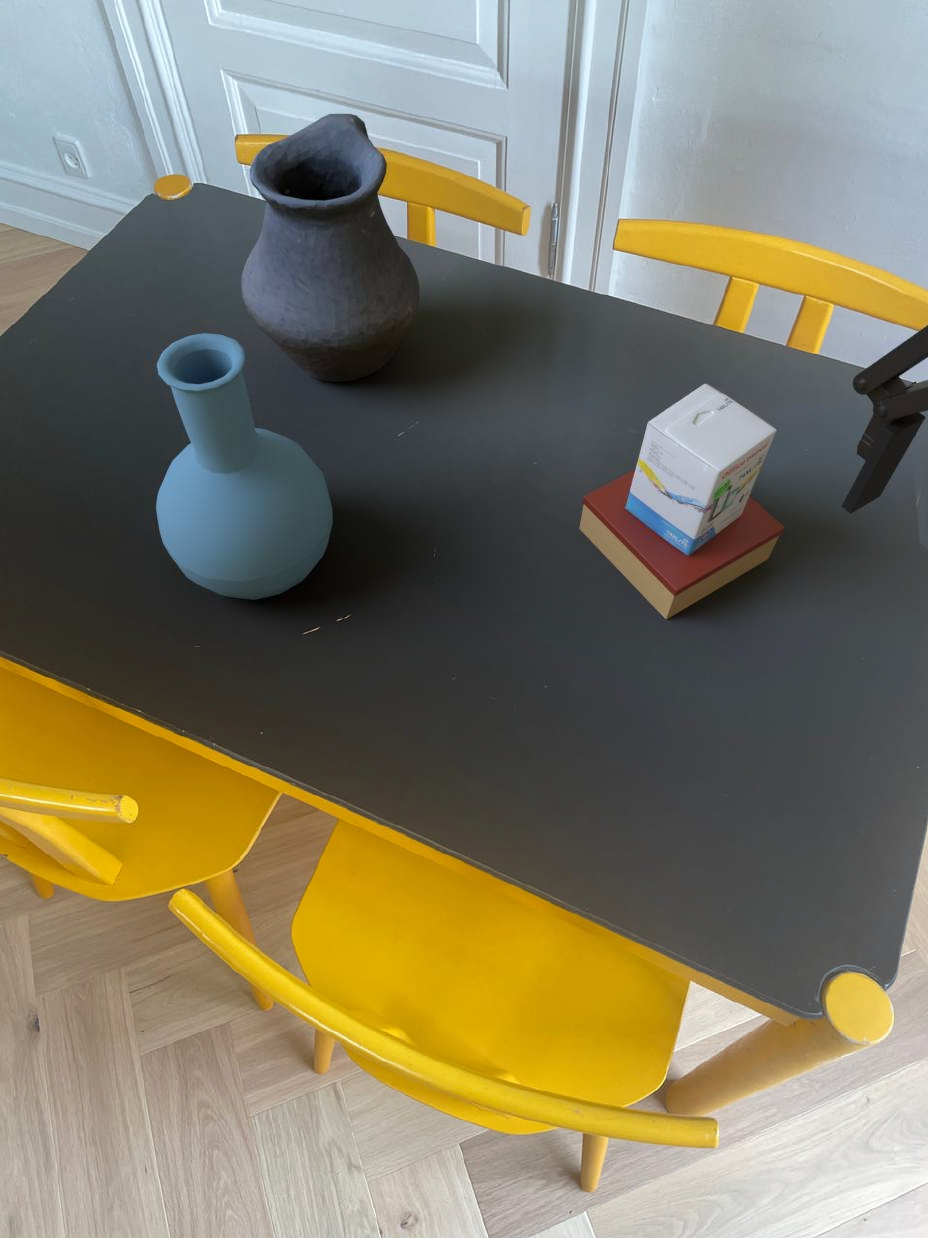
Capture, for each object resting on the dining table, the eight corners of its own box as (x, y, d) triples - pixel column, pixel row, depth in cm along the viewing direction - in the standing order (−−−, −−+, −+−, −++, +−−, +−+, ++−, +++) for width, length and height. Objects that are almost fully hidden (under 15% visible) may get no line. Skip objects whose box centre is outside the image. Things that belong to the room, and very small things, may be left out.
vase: (364, 518, 92) (337, 318, 71) (301, 641, 83) (250, 454, 62) (223, 482, 94) (159, 280, 74) (148, 598, 85) (51, 405, 65)
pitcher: (232, 395, 102) (176, 191, 82) (294, 288, 114) (259, 86, 94) (397, 424, 100) (382, 221, 79) (444, 311, 112) (441, 109, 91)
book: (769, 559, 89) (785, 527, 85) (665, 621, 84) (676, 590, 80) (678, 475, 96) (688, 442, 91) (577, 528, 91) (583, 496, 87)
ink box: (688, 558, 82) (718, 473, 73) (622, 508, 86) (644, 420, 76) (743, 515, 86) (780, 427, 76) (678, 468, 89) (706, 378, 80)
